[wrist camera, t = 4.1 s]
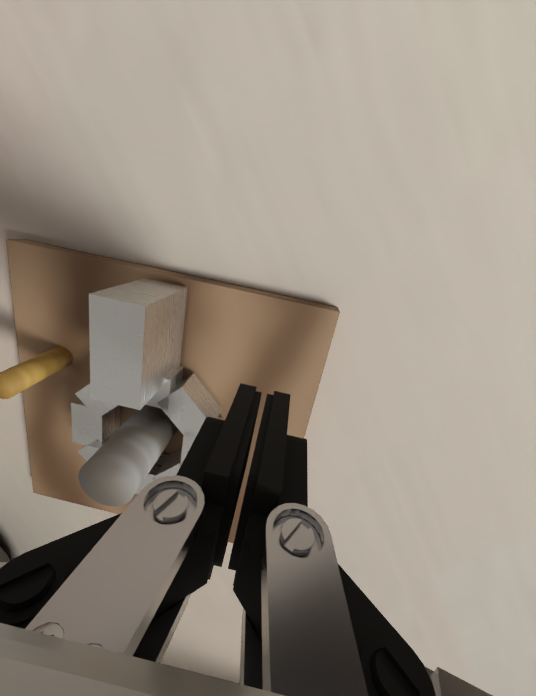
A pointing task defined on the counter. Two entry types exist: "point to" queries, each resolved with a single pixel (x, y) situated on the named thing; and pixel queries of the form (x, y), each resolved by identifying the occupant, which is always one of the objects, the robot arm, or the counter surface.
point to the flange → (139, 369)
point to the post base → (196, 356)
